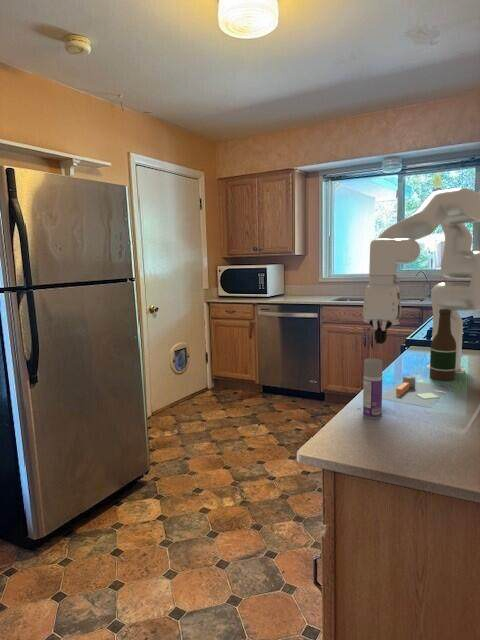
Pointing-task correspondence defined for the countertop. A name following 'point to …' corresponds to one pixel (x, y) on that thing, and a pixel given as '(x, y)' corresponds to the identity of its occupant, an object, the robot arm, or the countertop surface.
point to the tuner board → (417, 394)
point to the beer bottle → (443, 350)
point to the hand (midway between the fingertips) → (380, 342)
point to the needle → (406, 385)
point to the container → (372, 388)
